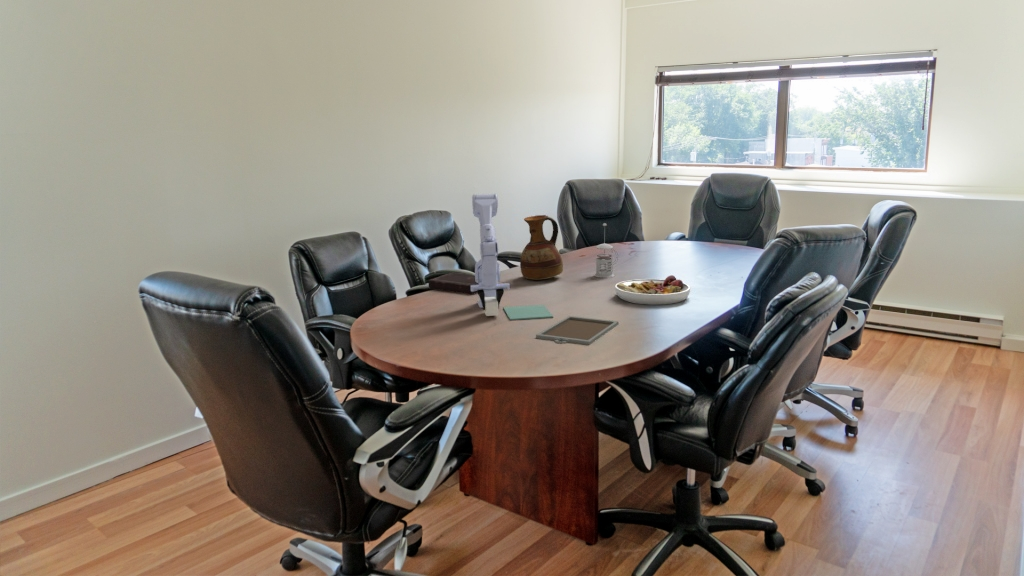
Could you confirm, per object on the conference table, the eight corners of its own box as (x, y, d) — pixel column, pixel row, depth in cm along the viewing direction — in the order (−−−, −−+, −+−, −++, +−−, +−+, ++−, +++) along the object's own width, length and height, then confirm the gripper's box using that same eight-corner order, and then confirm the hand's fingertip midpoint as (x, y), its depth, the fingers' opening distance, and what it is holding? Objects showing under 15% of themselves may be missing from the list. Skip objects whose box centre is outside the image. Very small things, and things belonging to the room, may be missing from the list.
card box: (483, 310, 262) (483, 297, 261) (495, 309, 263) (494, 296, 262) (486, 316, 254) (485, 302, 252) (498, 315, 254) (498, 302, 253)
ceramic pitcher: (513, 276, 328) (512, 214, 322) (550, 272, 337) (550, 211, 330) (532, 284, 311) (531, 218, 305) (570, 279, 319) (570, 215, 313)
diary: (473, 296, 293) (473, 285, 292) (428, 290, 307) (428, 279, 306) (498, 287, 308) (497, 276, 307) (454, 282, 322) (453, 271, 321)
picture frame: (618, 321, 242) (586, 343, 217) (618, 325, 243) (586, 348, 217) (568, 315, 251) (532, 336, 226) (569, 319, 252) (532, 341, 226)
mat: (503, 308, 268) (503, 307, 268) (543, 306, 270) (543, 304, 270) (510, 320, 251) (510, 318, 250) (553, 317, 253) (553, 316, 253)
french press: (590, 274, 330) (590, 222, 325) (612, 272, 334) (613, 221, 328) (599, 278, 321) (599, 225, 316) (621, 276, 324) (622, 223, 319)
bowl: (657, 310, 260) (658, 290, 259) (599, 298, 283) (599, 279, 281) (704, 298, 279) (705, 279, 277) (646, 287, 302) (647, 269, 300)
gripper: (471, 276, 250) (472, 312, 253) (510, 274, 252) (511, 310, 255) (469, 272, 257) (470, 308, 260) (507, 270, 259) (508, 305, 262)
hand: (490, 308), depth 258 cm, fingers closed on card box, 4 cm apart
